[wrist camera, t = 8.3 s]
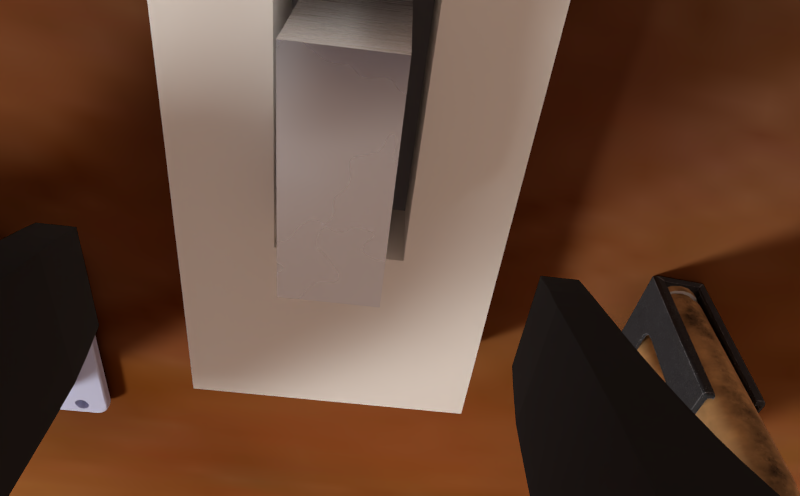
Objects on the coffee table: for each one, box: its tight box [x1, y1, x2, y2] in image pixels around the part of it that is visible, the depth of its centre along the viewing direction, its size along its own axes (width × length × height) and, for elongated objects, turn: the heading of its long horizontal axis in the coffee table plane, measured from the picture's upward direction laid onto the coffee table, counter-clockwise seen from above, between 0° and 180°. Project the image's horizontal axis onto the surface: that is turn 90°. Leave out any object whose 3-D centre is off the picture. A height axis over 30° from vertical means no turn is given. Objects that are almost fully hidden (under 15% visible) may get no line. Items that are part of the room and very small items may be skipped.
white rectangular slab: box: [147, 0, 570, 414], centre depth 16 cm, size 9×20×3 cm, turn 173°
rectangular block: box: [276, 0, 413, 307], centre depth 15 cm, size 2×6×6 cm, turn 173°
